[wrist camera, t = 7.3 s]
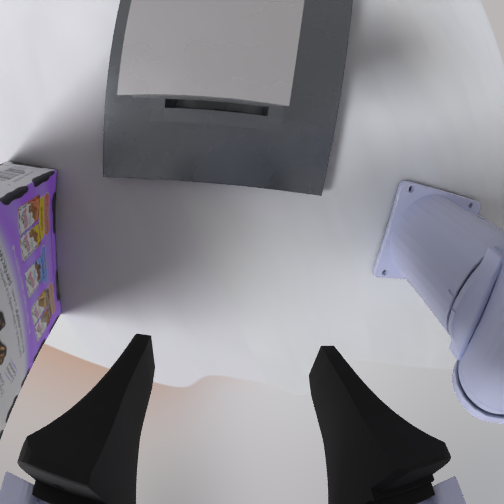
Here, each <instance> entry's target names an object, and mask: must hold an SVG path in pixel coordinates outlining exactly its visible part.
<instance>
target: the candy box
mask: <svg viewBox="0 0 504 504" xmlns="http://www.w3.org/2000/svg"><path fill="white" fill-rule="evenodd" d="M56 175H57V170H54V169H48V168H43V167H37V166H31V165H26V164H22V163H17V162H5V163H2V164H0V439H1V436H2V433H3V431H4V428H5V426H6V423H7V420H8V418H9V415H10V413H11V410H12V408H13V406H14V403H15V401H16V399H17V397H18V394H19V392H20V390H21V388H22V386H23V383H24V381H25V379H26V377H27V375H28V373H29V371H30V369H31V367H32V365H33V363H34V361H35V359H36V357H37V355H38V353H39V351H40V349H41V348H42V345H43V344H44V342H45V340H46V339H47V337H48V335H49V333H50V332H51V330H52V328H53V326H54V324H55V323H56V321H57V319H58V317H59V316H60V314H61V304H60V296H59V290H58V275H57V264H56V244H55V196H56Z"/></svg>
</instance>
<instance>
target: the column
mask: <svg viewBox="0 0 504 504" xmlns="http://www.w3.org/2000/svg"><path fill="white" fill-rule="evenodd" d="M303 7H304V0H132V1H131V5H130V10H129V15H128V20H127V25H126V31H125V36H124V43H123V49H122V56H121V63H120V72H119V80H118V90H117V95H133V97H143V98H163V99H186V100H204V101H217V102H228V103H238V104H247V105H255V106H264V107H265V106H266V107H279V108H281V106H289V103H290V97H291V90H292V84H293V77H294V70H295V63H296V57H297V50H298V43H299V36H300V29H301V22H302V15H303Z"/></svg>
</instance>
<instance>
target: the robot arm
mask: <svg viewBox="0 0 504 504" xmlns="http://www.w3.org/2000/svg"><path fill="white" fill-rule="evenodd" d="M411 186H412V189H411V190H410V191H409V187H411ZM469 204H470V205H469ZM480 207H481V204H480V203H479V202H478V201H476V200H473V199H470V198H467V197H463V196H460V195H457V194H454V193H450V192H447V191H443V190H440V189H436V188H433V187H429V186H425V185H422V184H418V183H414V182H410V181H406V180H403V181H401V182H400V184H399V186H398V190H397V194H396V197H395V201H394V205H393V208H392V212H391V215H390V219H389V222H388V225H387V229H386V232H385V235H384V238H383V241H382V244H381V247H380V250H379V253H378V256H377V259H376V262H375V265H374V268H373V274H374V275H375V276H376V277H382V278H399V279H406V280H407V281H408V282H409V283H410V285H411V286H412V287H413V288H414V289H415V291H416V292H417V293H418V294H419V296H420V297H421V298H422V299H423V301H424V302H425V303H426V305H427V306H428V307H429V308H430V310H431V311H432V312H433V314H434V315H435V316H436V318H437V319H438V320H439V322H440V323H441V324H442V326H443V327H444V328H445V330H446V331H447V333H448V334H449V335H450V337H451V344H450V347H449V349H450V350H451V352H452V353H453V355H454V356H455V358H456V359H457V361H456V363H455V366H454V369H453V374H452V383H453V388H454V391H455V393H456V396H457V398H458V399H459V401H460V403H461V404H462V405H463V407H464V408H465V409H466V410H467V411H468V412H469V413H471V414H472V415H473V416H475V417H477V418H479V419H481V420H484V421H487V422H493V423H501V424H504V231H503V230H501V229H500V228H498V227H497V226H495V225H494V224H492V223H491V222H489V221H488V220H486V219H485V218H483V217H482V216H480V215H479V211H480ZM384 270H385V272H383V271H384ZM382 272H383V273H382ZM154 370H155V364H154V357H153V349H152V340H151V336H150V335H142V334H136V335H135V336H134V337H133V339H132V340H131V342H130V343H129V345H128V346H127V348H126V349H125V350H124V352H123V353H122V354H121V356H120V357H119V358H118V360H117V361H116V362H115V363H114V365H113V366H112V367H111V369H110V370H109V371H108V372H107V373H106V374H105V376H104V377H103V378H102V379H101V380H100V381H99V382H98V384H97V385H96V386H95V387H94V388H93V389H92V390H91V391H90V392H89V393H88V394H87V395H86V396H85V397H83V398H82V399H81V400H80V401H79V402H78V403H77V404H76V405H74V406H73V407H72V408H71V409H70V410H68V411H67V412H66V413H64V414H63V415H62V416H60V417H59V418H57V419H56V420H54V421H53V422H52V423H50V424H49V425H47V426H45V427H43V428H42V429H40V430H38V431H36V432H34V433H33V434H31V435H29V436H27V438H26V440H25V442H24V444H23V447H22V450H21V452H20V456H19V459H18V464H19V466H20V467H21V468H22V469H23V470H24V471H25V472H26V473H28V474H29V475H30V476H31V477H33V478H34V479H35V480H36V481H35V485H33V484H31V483H29V482H27V481H25V480H23V479H21V478H19V477H17V476H15V475H13V474H11V473H9V472H6V473H5V476H4V480H3V483H2V487H1V490H0V504H136V475H137V462H138V451H139V441H140V435H141V430H142V426H143V421H144V417H145V413H146V409H147V405H148V402H149V398H150V394H151V390H152V383H153V377H154ZM309 381H310V389H311V396H312V400H313V404H314V407H315V411H316V414H317V418H318V422H319V426H320V430H321V434H322V438H323V442H324V449H325V457H326V466H327V477H328V504H466V503H465V500H464V497H463V494H462V492H461V489H460V486H459V484H458V481H457V479H456V477H455V476H454V477H452V478H450V479H448V480H445V481H443V482H441V483H439V484H437V485H435V486H433V487H432V484H431V482H433V481H434V478H433V475H432V474H433V473H435V472H436V471H438V470H439V469H441V468H442V467H443V466H444V465H445V464H447V463H448V462H449V461H450V459H451V456H450V453H449V451H448V449H447V447H446V444H445V443H444V442H443V441H441V440H438V439H436V438H434V437H432V436H430V435H428V434H426V433H425V432H423V431H421V430H419V429H418V428H416V427H414V426H413V425H411V424H410V423H408V422H407V421H406V420H404V419H403V418H402V417H400V416H399V415H397V414H396V413H395V412H394V411H392V410H391V409H390V408H389V407H388V406H387V405H385V404H384V403H383V402H382V401H381V400H380V399H379V398H378V397H377V396H376V395H375V394H374V393H373V392H372V391H371V390H370V389H369V388H368V387H367V385H366V384H365V383H364V382H363V381H362V380H361V379H360V378H359V376H358V375H357V374H356V373H355V372H354V370H353V369H352V368H351V367H350V366H349V364H348V363H347V362H346V361H345V359H344V358H343V357H342V355H341V354H340V353H339V352H338V350H337V349H336V348H335V347H334V346H321V347H320V350H319V352H318V355H317V357H316V360H315V362H314V364H313V367H312V369H311V372H310V374H309Z"/></svg>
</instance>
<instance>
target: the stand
mask: <svg viewBox="0 0 504 504" xmlns="http://www.w3.org/2000/svg"><path fill="white" fill-rule="evenodd" d="M131 1H132V0H120V5H119V9H118V14H117V19H116V24H115V30H114V35H113V41H112V48H111V55H110V62H109V70H108V79H107V89H106V101H105V116H104V140H103V177H119V178H143V179H162V180H178V181H192V182H205V183H217V184H228V185H238V186H248V187H257V188H266V189H275V190H283V191H291V192H299V193H306V194H313V195H320V196H322V191H323V186H324V181H325V176H326V171H327V166H328V161H329V156H330V151H331V145H332V140H333V135H334V129H335V123H336V118H337V112H338V106H339V100H340V94H341V87H342V81H343V74H344V67H345V60H346V53H347V45H348V37H349V29H350V20H351V11H352V1H353V0H304V7H303V15H302V22H301V29H300V36H299V43H298V50H297V57H296V63H295V70H294V77H293V84H292V90H291V97H290V103H289V106H281V108H279V107H266V106H265V107H264V106H255V105H247V104H238V103H228V102H217V101H204V100H186V99H163V98H143V97H133V95H117V90H118V80H119V72H120V63H121V56H122V49H123V43H124V36H125V31H126V25H127V20H128V15H129V10H130V5H131Z"/></svg>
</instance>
